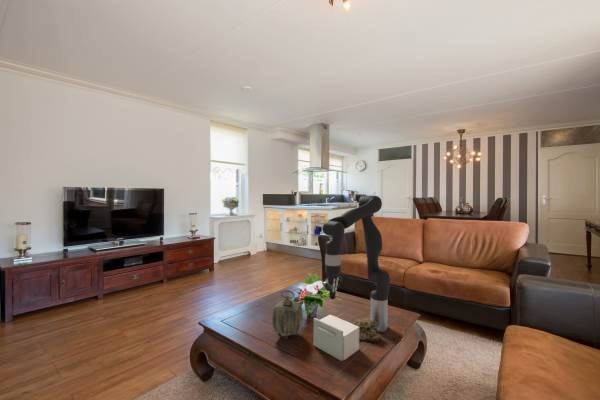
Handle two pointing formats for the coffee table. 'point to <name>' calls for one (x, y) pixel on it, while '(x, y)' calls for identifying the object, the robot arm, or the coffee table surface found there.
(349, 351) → the case
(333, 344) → the door
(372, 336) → the mineral specimen
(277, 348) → the coffee table surface
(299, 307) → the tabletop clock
